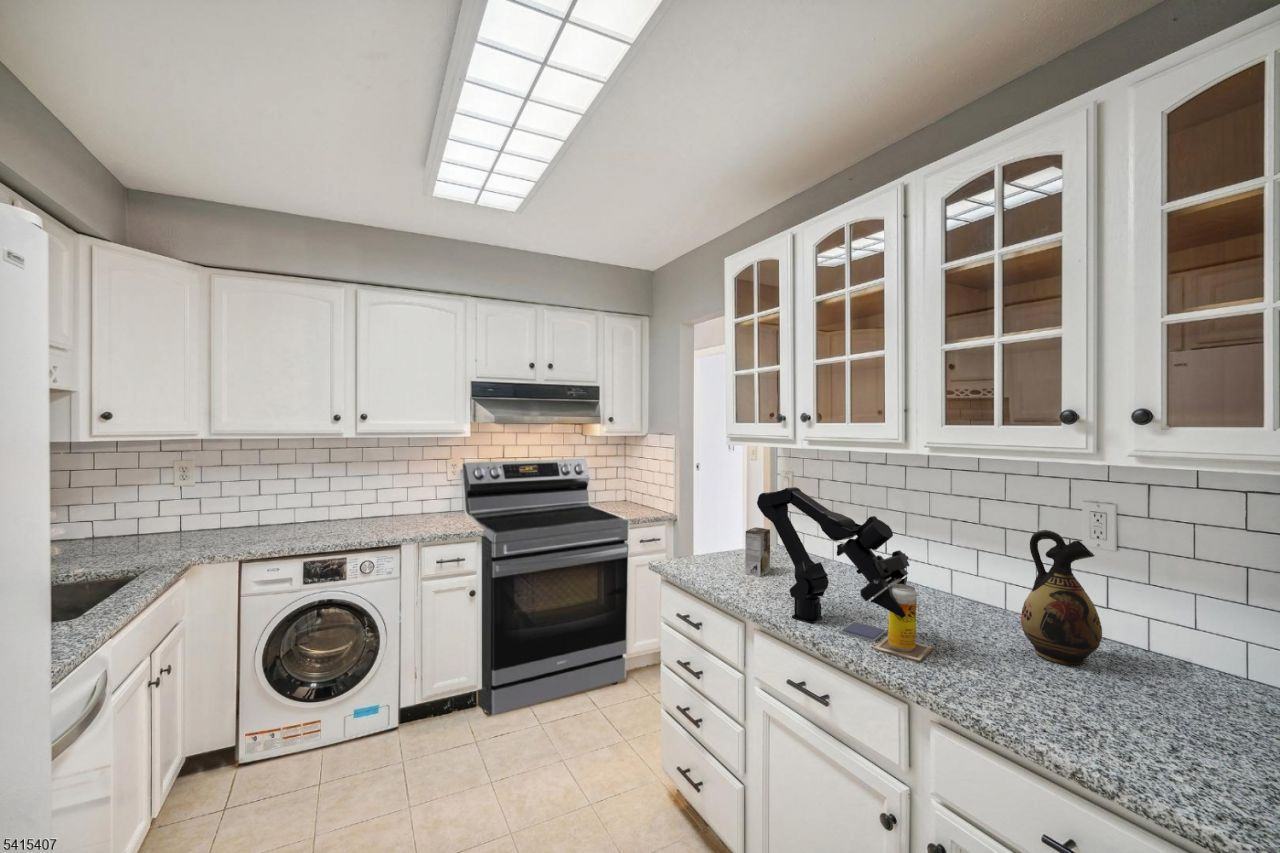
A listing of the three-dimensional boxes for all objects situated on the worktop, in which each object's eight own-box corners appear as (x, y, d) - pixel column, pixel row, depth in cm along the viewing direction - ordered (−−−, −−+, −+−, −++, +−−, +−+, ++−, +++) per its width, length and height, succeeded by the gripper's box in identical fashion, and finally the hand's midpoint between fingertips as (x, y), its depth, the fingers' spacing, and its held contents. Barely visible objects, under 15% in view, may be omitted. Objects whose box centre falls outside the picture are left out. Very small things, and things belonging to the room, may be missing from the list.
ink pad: (839, 633, 145) (840, 629, 145) (853, 624, 151) (853, 620, 151) (874, 642, 138) (874, 638, 138) (887, 633, 145) (887, 629, 145)
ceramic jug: (1104, 657, 131) (1106, 533, 131) (1097, 678, 120) (1099, 542, 120) (1019, 637, 143) (1021, 523, 143) (1006, 654, 132) (1008, 531, 132)
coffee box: (754, 569, 208) (755, 526, 208) (770, 571, 205) (771, 529, 205) (744, 574, 201) (744, 530, 201) (760, 577, 197) (761, 532, 197)
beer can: (903, 654, 131) (905, 592, 131) (882, 644, 136) (884, 584, 136) (920, 650, 134) (922, 589, 133) (899, 640, 139) (900, 582, 139)
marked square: (872, 649, 134) (872, 647, 134) (887, 636, 142) (887, 634, 142) (920, 662, 127) (920, 660, 127) (933, 648, 135) (934, 646, 135)
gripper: (874, 547, 130) (923, 603, 123) (900, 535, 144) (946, 586, 137) (841, 573, 136) (887, 629, 128) (869, 560, 150) (911, 610, 142)
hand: (909, 612), depth 134 cm, fingers open, 8 cm apart
